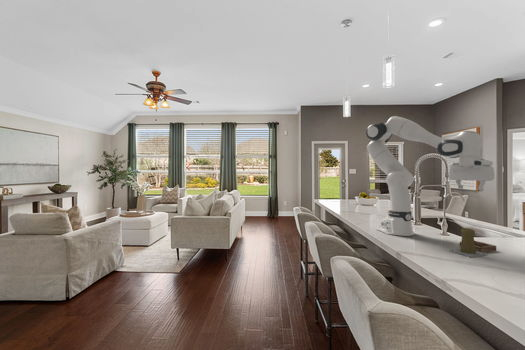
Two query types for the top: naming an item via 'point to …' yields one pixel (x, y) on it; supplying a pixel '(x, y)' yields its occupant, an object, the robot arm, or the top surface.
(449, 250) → the rubber mat
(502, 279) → the top surface
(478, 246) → the walnut cradle
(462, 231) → the olive green figurine
